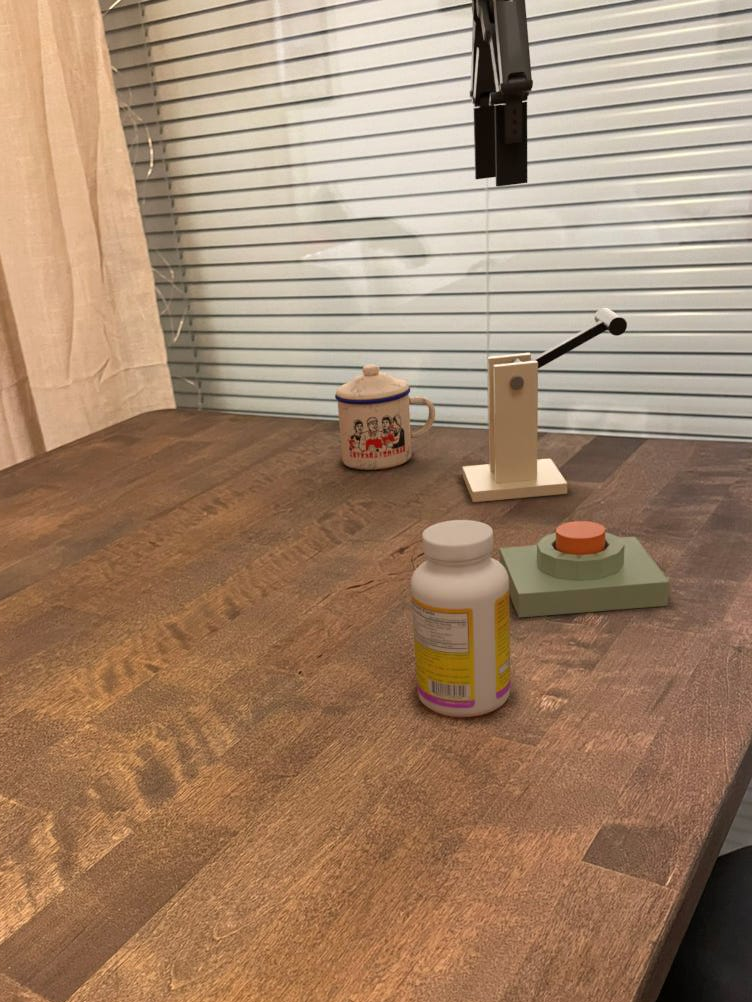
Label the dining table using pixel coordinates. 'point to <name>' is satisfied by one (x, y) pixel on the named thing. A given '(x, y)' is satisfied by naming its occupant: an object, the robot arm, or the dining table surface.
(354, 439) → the teacup with lid
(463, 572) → the supplement bottle
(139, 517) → the dining table surface
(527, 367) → the lever stand
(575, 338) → the black lever
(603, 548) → the button
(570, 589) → the button box
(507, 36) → the robot arm
